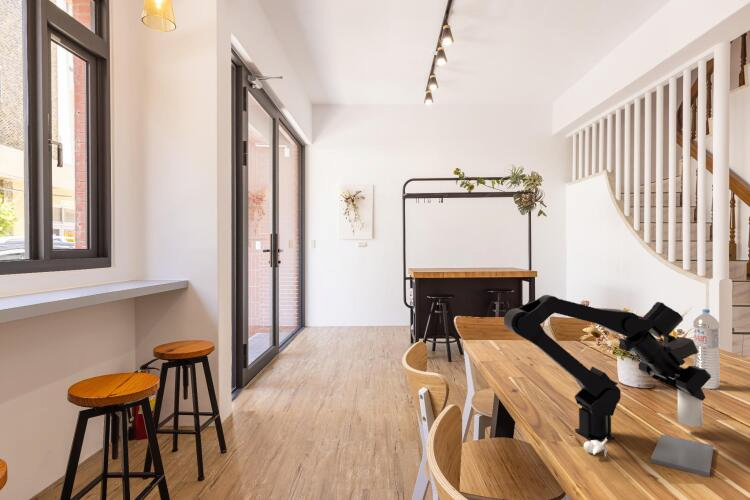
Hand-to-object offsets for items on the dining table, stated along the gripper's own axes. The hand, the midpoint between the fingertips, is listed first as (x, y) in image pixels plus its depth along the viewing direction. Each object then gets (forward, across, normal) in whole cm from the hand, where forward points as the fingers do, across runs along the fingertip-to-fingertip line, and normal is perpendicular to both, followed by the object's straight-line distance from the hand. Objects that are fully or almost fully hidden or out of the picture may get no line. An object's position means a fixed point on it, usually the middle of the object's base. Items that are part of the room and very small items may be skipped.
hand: (695, 395), depth 111 cm
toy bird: (-14, -10, +28) cm, 33 cm away
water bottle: (+28, +36, -15) cm, 49 cm away
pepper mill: (+4, 0, +6) cm, 7 cm away
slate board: (-1, -11, +14) cm, 18 cm away
